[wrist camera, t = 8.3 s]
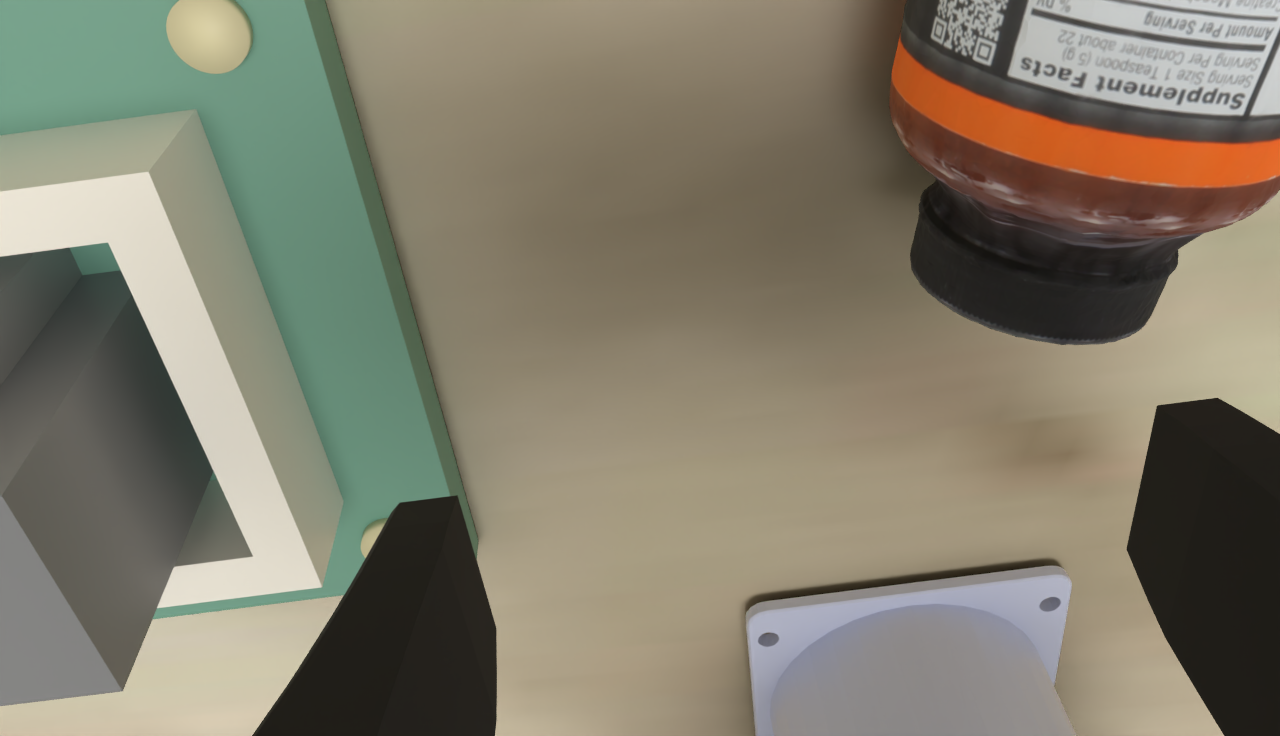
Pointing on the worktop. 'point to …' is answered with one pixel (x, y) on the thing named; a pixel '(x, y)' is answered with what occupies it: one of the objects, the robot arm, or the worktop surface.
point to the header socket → (191, 336)
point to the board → (266, 218)
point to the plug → (84, 479)
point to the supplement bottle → (1081, 150)
